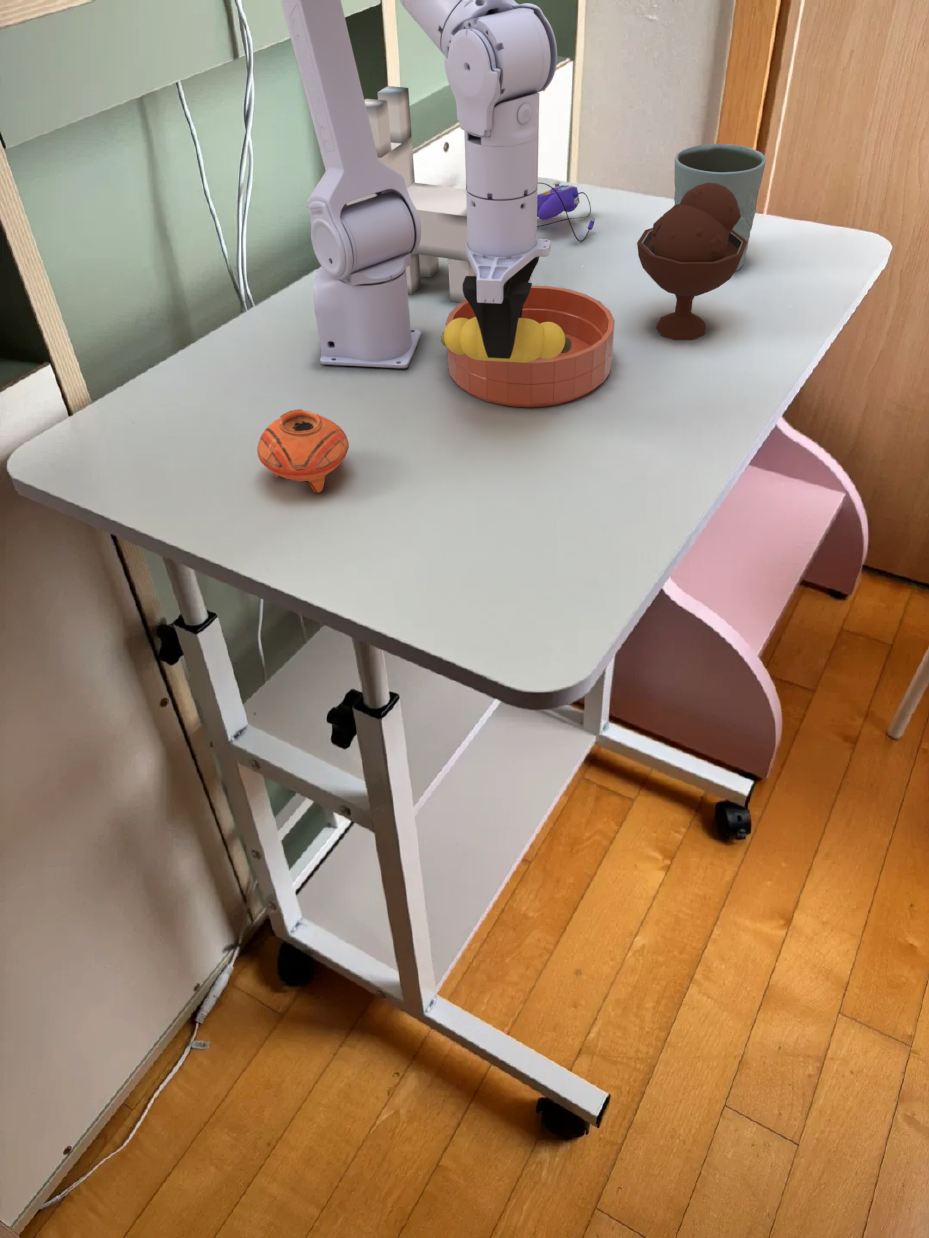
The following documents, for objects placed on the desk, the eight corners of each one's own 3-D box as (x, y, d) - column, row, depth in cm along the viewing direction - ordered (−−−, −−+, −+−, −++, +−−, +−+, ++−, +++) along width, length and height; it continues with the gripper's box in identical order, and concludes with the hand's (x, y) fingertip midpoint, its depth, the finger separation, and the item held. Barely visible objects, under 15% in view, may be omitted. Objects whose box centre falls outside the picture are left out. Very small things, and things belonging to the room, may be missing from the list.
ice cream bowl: (661, 297, 110) (677, 160, 100) (750, 323, 105) (776, 181, 94) (610, 333, 104) (621, 190, 94) (702, 362, 99) (724, 214, 89)
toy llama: (489, 307, 110) (486, 118, 96) (356, 285, 115) (334, 103, 102) (514, 281, 115) (514, 97, 101) (384, 261, 120) (368, 84, 106)
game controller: (508, 187, 127) (581, 165, 126) (522, 251, 130) (594, 230, 129) (515, 190, 118) (594, 166, 117) (530, 258, 121) (607, 235, 121)
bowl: (434, 404, 95) (432, 358, 91) (462, 326, 107) (460, 282, 103) (606, 414, 92) (609, 367, 89) (614, 332, 104) (618, 288, 101)
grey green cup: (743, 282, 112) (761, 175, 104) (657, 274, 115) (668, 169, 106) (752, 248, 119) (770, 145, 111) (670, 241, 122) (682, 140, 113)
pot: (297, 439, 90) (301, 380, 85) (361, 480, 88) (369, 422, 83) (237, 478, 85) (237, 418, 80) (303, 523, 83) (308, 464, 78)
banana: (433, 365, 86) (431, 326, 84) (442, 342, 89) (440, 303, 87) (567, 373, 84) (569, 333, 82) (572, 348, 88) (574, 309, 85)
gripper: (541, 224, 71) (538, 388, 80) (560, 157, 81) (555, 310, 90) (447, 221, 72) (454, 383, 81) (478, 156, 82) (481, 306, 91)
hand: (502, 344), depth 86 cm, fingers closed on banana, 4 cm apart
